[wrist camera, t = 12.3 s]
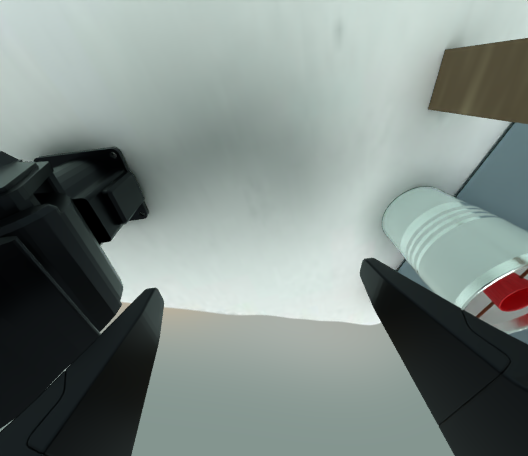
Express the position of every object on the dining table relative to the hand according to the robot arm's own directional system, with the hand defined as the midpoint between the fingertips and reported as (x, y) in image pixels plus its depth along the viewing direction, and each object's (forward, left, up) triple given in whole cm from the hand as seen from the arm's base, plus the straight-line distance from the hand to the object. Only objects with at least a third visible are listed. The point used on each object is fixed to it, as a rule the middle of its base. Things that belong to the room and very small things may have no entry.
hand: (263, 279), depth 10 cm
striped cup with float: (+18, -7, -13) cm, 23 cm away
